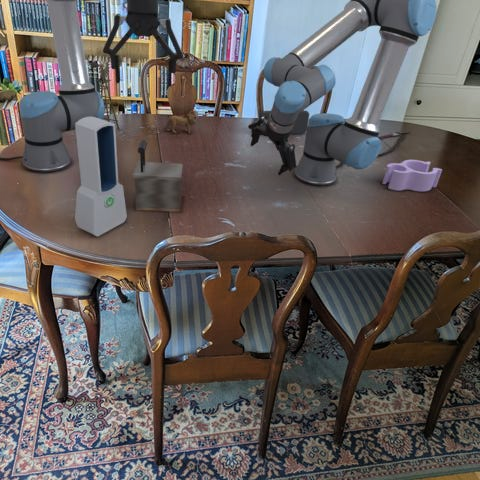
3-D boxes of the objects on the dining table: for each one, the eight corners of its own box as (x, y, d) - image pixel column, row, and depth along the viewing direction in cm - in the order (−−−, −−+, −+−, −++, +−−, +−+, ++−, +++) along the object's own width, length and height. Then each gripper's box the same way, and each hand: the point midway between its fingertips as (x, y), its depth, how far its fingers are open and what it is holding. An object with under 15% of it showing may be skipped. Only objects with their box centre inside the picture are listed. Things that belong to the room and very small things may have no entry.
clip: (395, 193, 165) (400, 176, 161) (376, 178, 175) (380, 161, 171) (440, 190, 171) (447, 172, 167) (419, 175, 181) (425, 158, 177)
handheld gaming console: (303, 131, 211) (307, 109, 206) (306, 133, 209) (310, 111, 204) (256, 132, 204) (259, 110, 199) (258, 135, 202) (261, 112, 197)
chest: (135, 209, 139) (134, 178, 134) (139, 194, 147) (138, 164, 142) (180, 211, 141) (181, 180, 135) (181, 197, 149) (182, 166, 143)
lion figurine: (195, 128, 201) (196, 108, 196) (199, 133, 197) (200, 112, 192) (162, 130, 196) (162, 108, 191) (164, 134, 192) (165, 113, 187)
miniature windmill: (110, 136, 185) (105, 57, 169) (90, 133, 186) (84, 54, 170) (120, 129, 193) (116, 52, 177) (100, 125, 194) (95, 49, 178)
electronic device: (94, 238, 124) (84, 130, 108) (75, 229, 127) (62, 122, 111) (127, 220, 133) (123, 118, 117) (108, 212, 136) (101, 111, 120)
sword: (405, 131, 224) (406, 128, 224) (410, 133, 222) (411, 130, 222) (362, 142, 208) (362, 140, 208) (367, 144, 206) (368, 142, 206)
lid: (132, 177, 134) (131, 149, 129) (136, 164, 142) (135, 137, 137) (181, 180, 135) (182, 152, 130) (182, 166, 143) (183, 139, 138)
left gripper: (86, -9, 109) (94, 84, 120) (194, 1, 112) (191, 90, 124) (92, -12, 115) (98, 76, 127) (193, -3, 118) (190, 82, 130)
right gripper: (242, 100, 136) (234, 137, 156) (300, 161, 132) (284, 191, 152) (261, 87, 138) (251, 125, 158) (318, 146, 134) (301, 178, 154)
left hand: (144, 83), depth 125 cm, fingers open, 13 cm apart
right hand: (267, 158), depth 155 cm, fingers open, 13 cm apart
